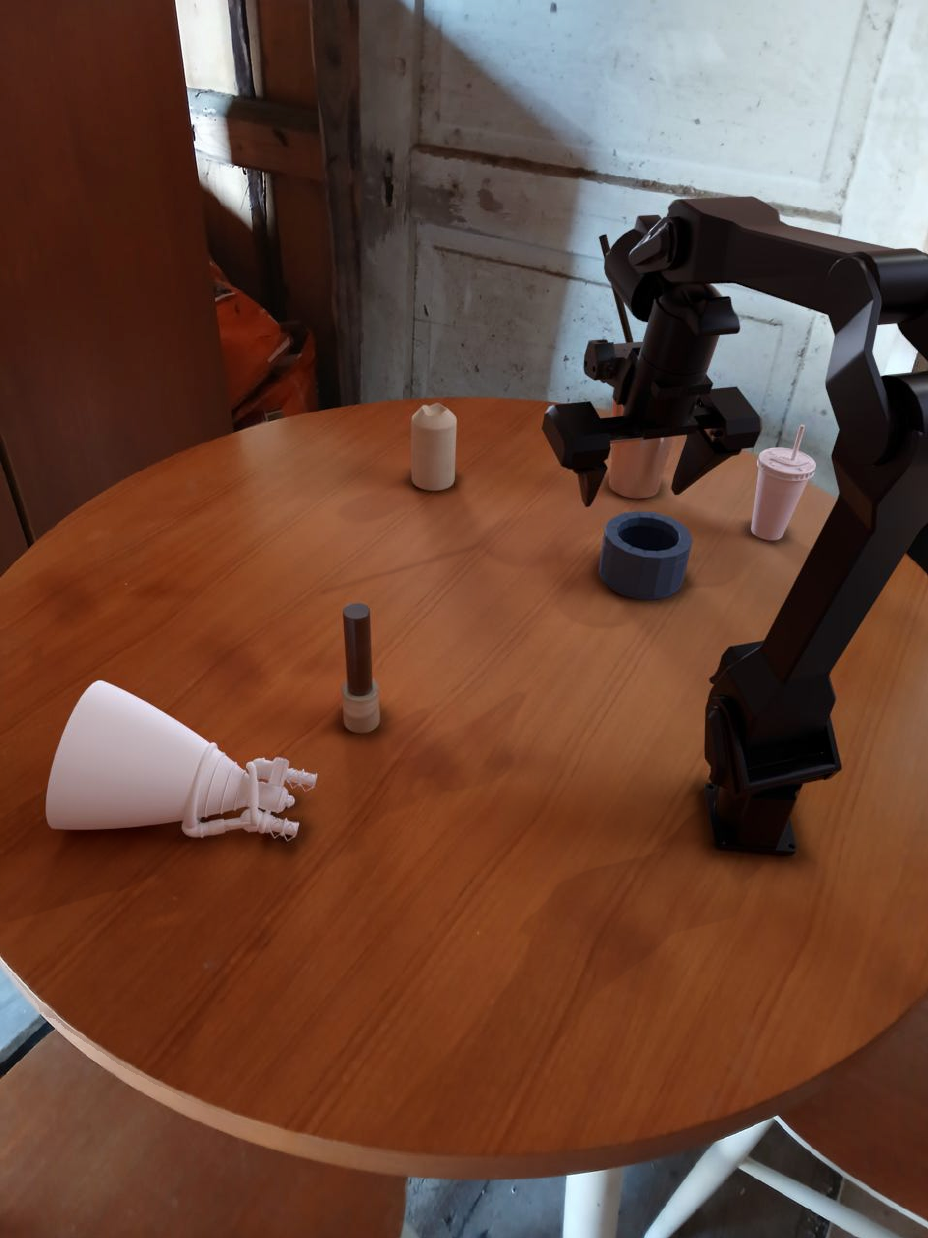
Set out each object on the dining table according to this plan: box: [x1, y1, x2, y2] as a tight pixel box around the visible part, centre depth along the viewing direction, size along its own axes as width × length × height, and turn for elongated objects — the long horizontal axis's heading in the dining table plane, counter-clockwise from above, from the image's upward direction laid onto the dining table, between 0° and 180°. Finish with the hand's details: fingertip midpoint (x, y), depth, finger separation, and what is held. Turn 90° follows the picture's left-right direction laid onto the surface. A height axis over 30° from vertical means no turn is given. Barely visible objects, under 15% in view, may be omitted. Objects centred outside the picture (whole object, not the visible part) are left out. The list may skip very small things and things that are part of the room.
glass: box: [598, 233, 676, 500], centre depth 107 cm, size 11×11×30 cm
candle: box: [411, 402, 458, 492], centre depth 112 cm, size 6×6×10 cm
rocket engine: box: [45, 679, 318, 842], centre depth 70 cm, size 12×12×18 cm
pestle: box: [341, 602, 381, 734], centre depth 77 cm, size 3×3×12 cm
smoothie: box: [750, 424, 817, 541], centre depth 104 cm, size 6×6×14 cm
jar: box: [598, 510, 693, 601], centre depth 99 cm, size 9×9×6 cm
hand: (630, 497), depth 85 cm, fingers open, 9 cm apart
